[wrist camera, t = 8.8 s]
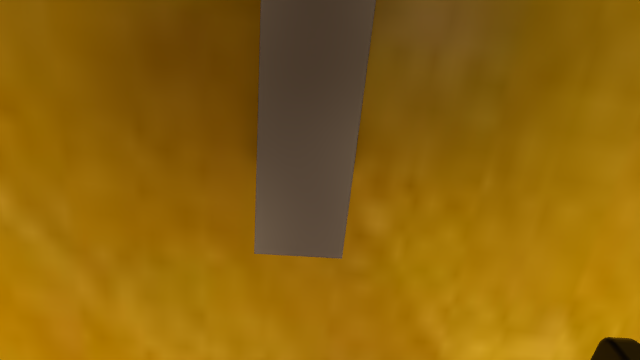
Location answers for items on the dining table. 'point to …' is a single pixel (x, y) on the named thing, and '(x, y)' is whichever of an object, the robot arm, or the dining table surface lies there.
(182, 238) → the dining table surface
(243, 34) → the dining table surface
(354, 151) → the walnut batten
